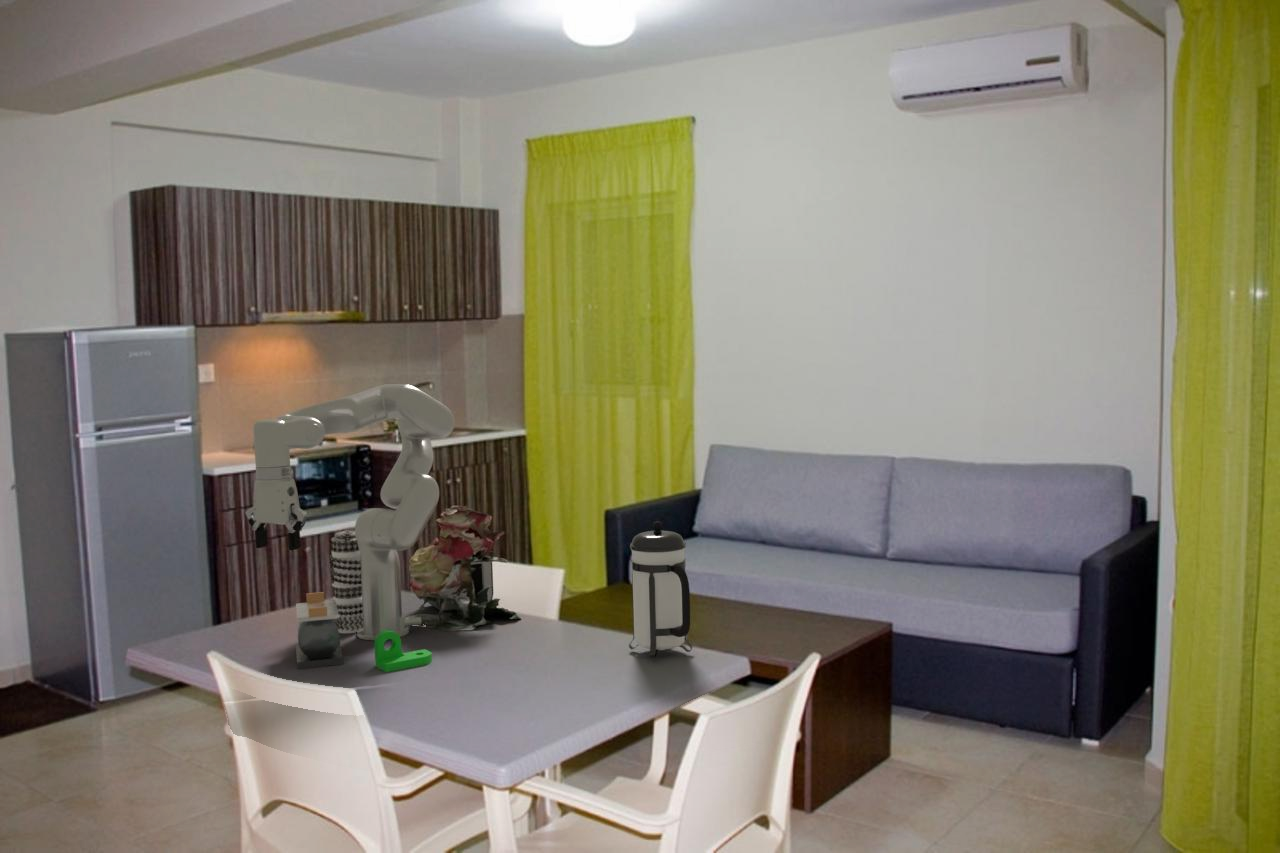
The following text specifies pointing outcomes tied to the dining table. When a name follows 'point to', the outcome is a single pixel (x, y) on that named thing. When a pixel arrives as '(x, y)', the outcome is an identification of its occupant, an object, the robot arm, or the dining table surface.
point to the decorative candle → (347, 581)
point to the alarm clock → (480, 579)
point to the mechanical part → (397, 654)
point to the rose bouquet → (456, 570)
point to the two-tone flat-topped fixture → (317, 633)
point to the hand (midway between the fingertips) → (278, 548)
